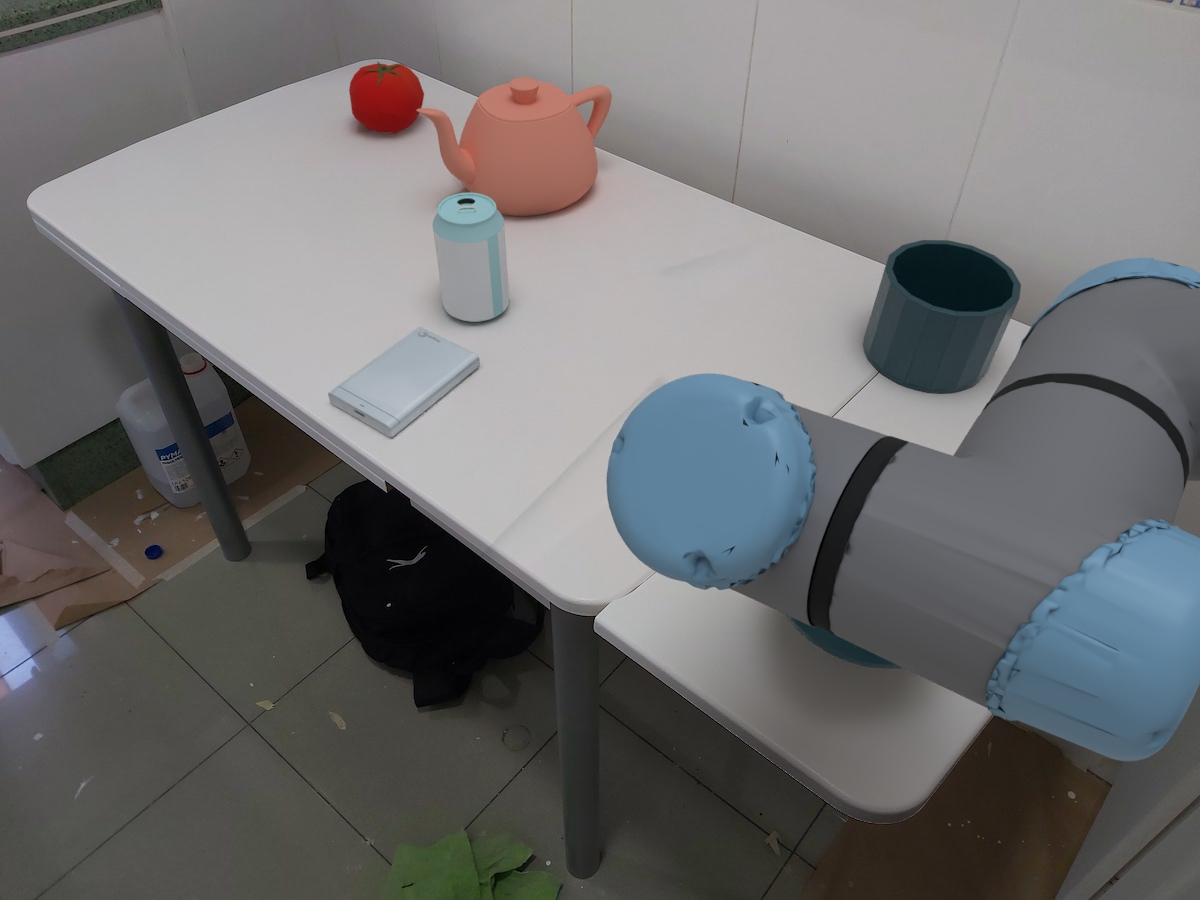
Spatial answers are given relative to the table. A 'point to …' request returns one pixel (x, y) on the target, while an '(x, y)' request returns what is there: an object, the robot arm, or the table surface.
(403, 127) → the tomato
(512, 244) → the table surface
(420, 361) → the hard drive
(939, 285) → the pot
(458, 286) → the can
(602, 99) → the teapot
